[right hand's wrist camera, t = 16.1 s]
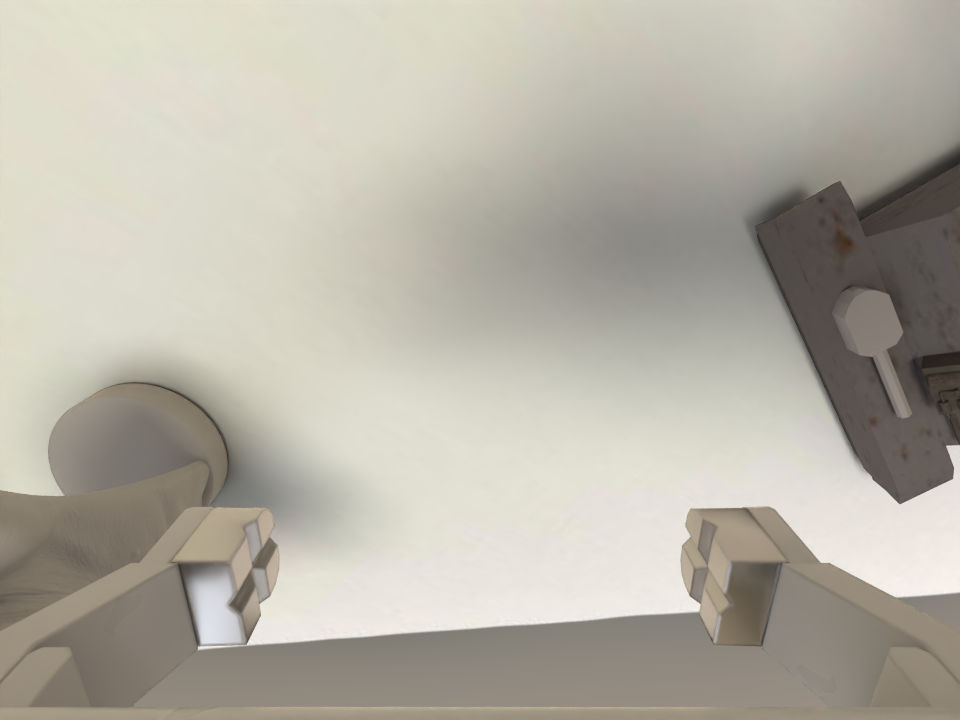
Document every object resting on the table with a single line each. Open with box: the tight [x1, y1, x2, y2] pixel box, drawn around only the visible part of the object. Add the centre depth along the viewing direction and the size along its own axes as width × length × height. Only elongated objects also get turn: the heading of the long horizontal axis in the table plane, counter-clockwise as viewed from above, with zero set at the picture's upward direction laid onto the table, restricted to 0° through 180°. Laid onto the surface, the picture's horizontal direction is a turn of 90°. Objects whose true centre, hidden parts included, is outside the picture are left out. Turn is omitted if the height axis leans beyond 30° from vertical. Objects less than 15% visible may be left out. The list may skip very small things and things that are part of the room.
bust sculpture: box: [0, 383, 228, 707], centre depth 29 cm, size 16×24×35 cm, turn 61°
